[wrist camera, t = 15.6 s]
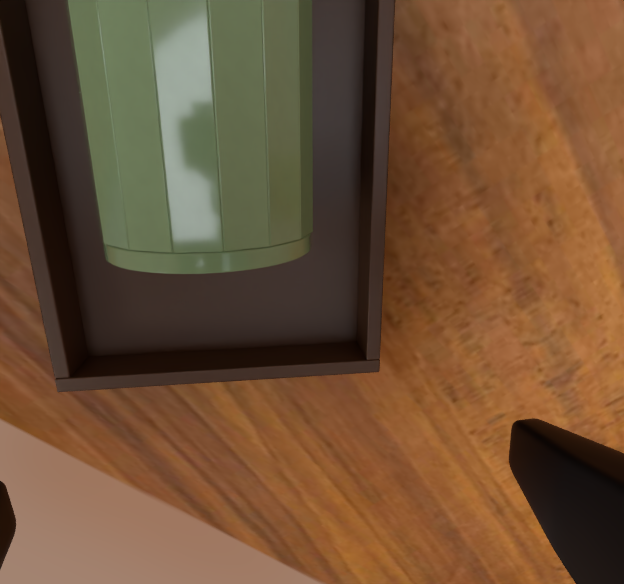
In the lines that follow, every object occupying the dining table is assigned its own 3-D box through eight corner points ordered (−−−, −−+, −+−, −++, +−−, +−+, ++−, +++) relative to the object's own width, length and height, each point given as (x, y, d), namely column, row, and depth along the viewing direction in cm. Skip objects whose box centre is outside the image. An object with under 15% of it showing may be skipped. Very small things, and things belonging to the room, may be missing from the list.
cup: (349, 256, 14) (358, -115, 11) (118, 288, 11) (44, -221, 8) (264, 227, 19) (255, -23, 17) (96, 241, 16) (49, -63, 13)
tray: (366, 348, 21) (379, 372, 19) (81, 364, 20) (56, 392, 17) (380, -81, 16) (400, -121, 14) (-5, -100, 15) (-56, -149, 12)
